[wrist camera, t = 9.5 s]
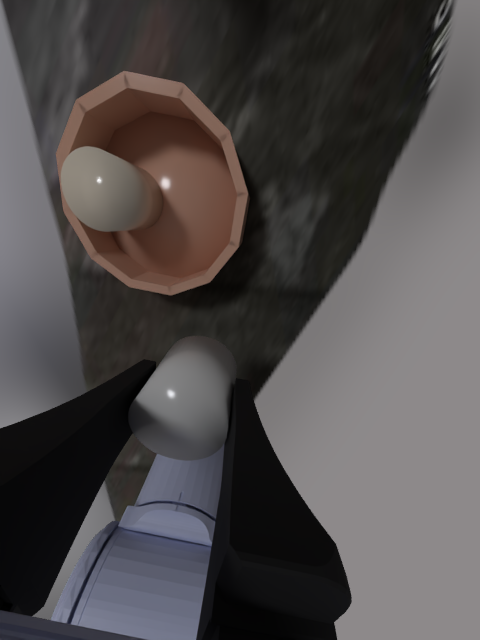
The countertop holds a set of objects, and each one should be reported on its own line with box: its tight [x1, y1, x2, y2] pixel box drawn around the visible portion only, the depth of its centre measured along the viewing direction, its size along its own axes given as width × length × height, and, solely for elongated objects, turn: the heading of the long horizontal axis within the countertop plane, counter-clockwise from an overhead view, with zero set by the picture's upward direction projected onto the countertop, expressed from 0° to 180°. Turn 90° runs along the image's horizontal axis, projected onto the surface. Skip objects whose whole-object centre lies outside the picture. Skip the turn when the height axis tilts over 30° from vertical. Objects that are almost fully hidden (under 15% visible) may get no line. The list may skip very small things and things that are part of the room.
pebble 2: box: [128, 336, 237, 461], centre depth 11 cm, size 4×4×4 cm
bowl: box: [56, 71, 250, 295], centre depth 15 cm, size 11×11×3 cm
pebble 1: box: [61, 146, 163, 232], centre depth 14 cm, size 4×4×4 cm
